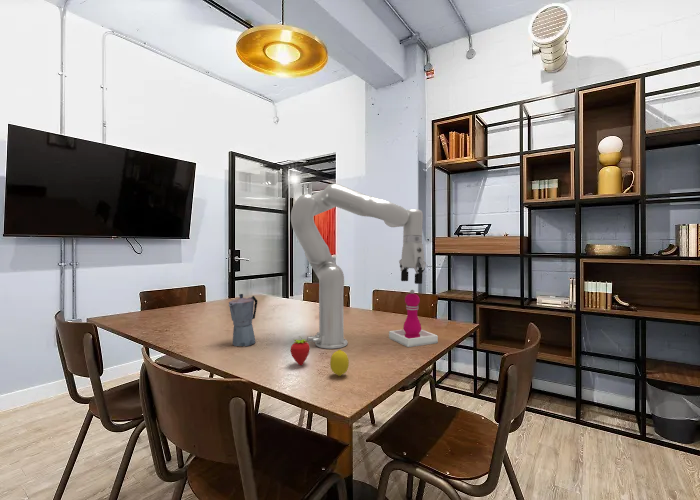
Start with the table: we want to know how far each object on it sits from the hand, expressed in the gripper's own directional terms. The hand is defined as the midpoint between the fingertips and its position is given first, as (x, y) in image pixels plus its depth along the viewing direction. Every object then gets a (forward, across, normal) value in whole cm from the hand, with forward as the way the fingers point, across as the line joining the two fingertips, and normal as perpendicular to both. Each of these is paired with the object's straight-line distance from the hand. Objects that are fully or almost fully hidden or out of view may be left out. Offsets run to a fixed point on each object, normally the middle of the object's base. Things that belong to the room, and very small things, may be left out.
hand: (411, 282), depth 144 cm
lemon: (+25, -23, +41) cm, 53 cm away
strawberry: (+25, -9, +49) cm, 56 cm away
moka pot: (+26, +25, +62) cm, 71 cm away
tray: (+24, 0, -1) cm, 24 cm away
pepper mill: (+23, 0, -1) cm, 23 cm away
